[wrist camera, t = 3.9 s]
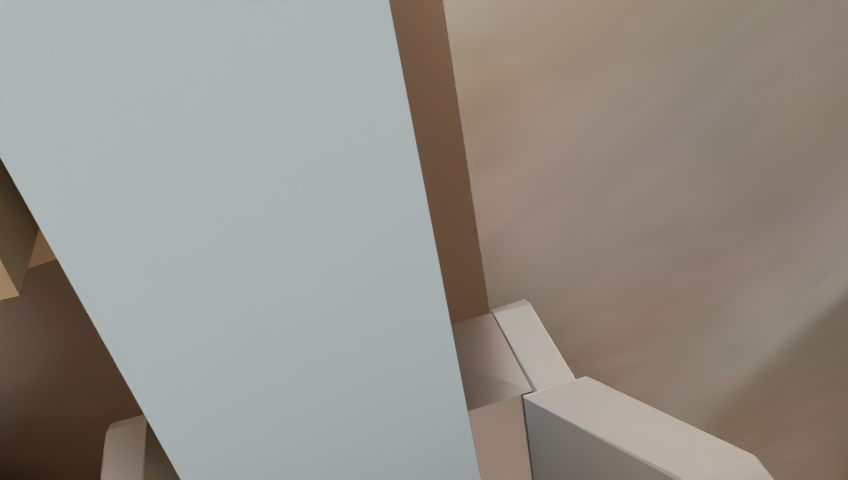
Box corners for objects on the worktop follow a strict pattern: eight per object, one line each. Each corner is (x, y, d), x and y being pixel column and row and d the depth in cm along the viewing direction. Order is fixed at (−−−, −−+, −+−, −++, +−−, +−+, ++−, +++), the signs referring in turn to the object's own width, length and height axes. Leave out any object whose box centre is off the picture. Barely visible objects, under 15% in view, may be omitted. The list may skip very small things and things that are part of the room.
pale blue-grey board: (240, -252, 12) (347, -214, 4) (399, 370, 20) (541, 795, 12) (80, -219, 12) (-147, -107, 4) (307, 398, 20) (389, 853, 12)
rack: (301, -504, 11) (431, -764, 5) (473, 419, 22) (573, 658, 16) (-760, -323, 9) (-2256, -403, 4) (8, 566, 20) (-60, 885, 15)
